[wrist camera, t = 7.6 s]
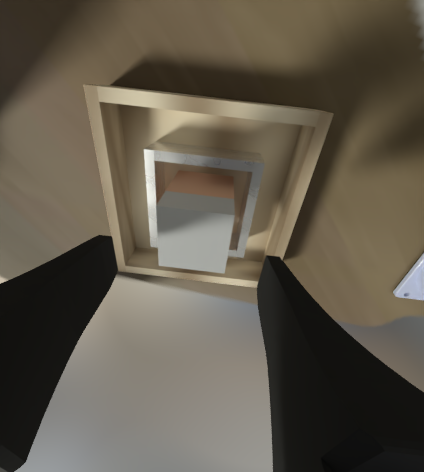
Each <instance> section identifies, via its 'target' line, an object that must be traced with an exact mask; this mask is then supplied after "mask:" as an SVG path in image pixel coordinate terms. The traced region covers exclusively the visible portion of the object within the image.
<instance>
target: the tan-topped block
mask: <svg viewBox="0 0 424 472" xmlns="http://www.w3.org/2000/svg"><path fill="white" fill-rule="evenodd" d="M156 216H157V238H158V260H159V266H166V267H174V268H182V269H191V270H199V271H207V272H215V273H224V274H225V268H226V263H227V257H228V251H229V245H230V240H231V234H232V228H233V223H234V217H235V207H234V182H233V177H232V176H224V175H216V174H207V173H199V172H191V171H182V170H179V171H178V172H177V174H176V175H175V177H174V178H173V180H172V182H171V183H170V185H169V186H168V188H167V189H166V191H165V193H164V194H163V196H162V197H161V199H160V200H159V202H158V204H157V205H156Z"/></svg>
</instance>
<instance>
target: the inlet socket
mask: <svg viewBox="0 0 424 472" xmlns="http://www.w3.org/2000/svg"><path fill="white" fill-rule="evenodd" d="M144 160H145V174H146V188H147V203H148V217H149V231H150V245H151V247H156V248H158V238H157V216H156V205H157V204H158V202H159V200H160V199H161V197H162V196H163V194H164V193H165V162H170V163H179V164H187V165H196V166H204V167H213V168H221V169H230V170H238V171H247V172H248V173H247V178H246V183H245V189H244V194H243V199H242V205H241V210H240V216H239V221H238V226H237V232H236V233H233V232H232V234H231V240H230V245H229V251H228V256H233V257H241V258H244V254H245V249H246V245H247V240H248V236H249V231H250V227H251V223H252V218H253V214H254V209H255V205H256V200H257V196H258V191H259V187H260V183H261V178H262V174H263V169H264V165H265V163H264V160H263V158H262V156H261V154H260V153H254V152H245V151H237V150H228V149H219V148H211V147H202V146H194V145H185V144H177V143H168V142H159V141H155V142H153V143H152V144H151V145H149V146H148V147H146V148H145V149H144Z"/></svg>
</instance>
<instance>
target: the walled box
mask: <svg viewBox="0 0 424 472" xmlns="http://www.w3.org/2000/svg"><path fill="white" fill-rule="evenodd" d="M83 86H84V91H85V97H86V102H87V108H88V113H89V118H90V124H91V129H92V135H93V140H94V145H95V151H96V156H97V161H98V167H99V172H100V178H101V183H102V188H103V194H104V199H105V205H106V210H107V215H108V221H109V226H110V231H111V236H112V239H113V244H114V250H115V255H116V260H117V266H118V271H121V272H129V273H137V274H146V275H154V276H163V277H171V278H180V279H188V280H196V281H205V282H213V283H222V284H230V285H239V286H247V287H255V288H257V285H258V281H259V278H260V275H261V271H262V268H263V264H264V261H265V258H266V255H270V256H278V257H280V258H281V259H282V260H283V257H284V254H285V251H286V248H287V246H288V243H289V240H290V237H291V234H292V231H293V228H294V226H295V223H296V220H297V217H298V214H299V211H300V209H301V206H302V203H303V200H304V197H305V194H306V192H307V189H308V186H309V183H310V180H311V177H312V175H313V172H314V169H315V166H316V163H317V160H318V158H319V155H320V152H321V149H322V146H323V143H324V141H325V138H326V135H327V132H328V129H329V126H330V124H331V121H332V118H333V115H334V113H330V112H325V111H321V110H316V109H309V108H300V107H292V106H283V105H275V104H266V103H257V102H249V101H240V100H231V99H223V98H214V97H206V96H197V95H188V94H180V93H171V92H163V91H154V90H145V89H137V88H128V87H120V86H111V85H88V84H83ZM155 141H159V142H168V143H177V144H185V145H194V146H202V147H211V148H219V149H228V150H237V151H245V152H254V153H260V154H261V156H262V158H263V160H264V163H265V165H264V169H263V174H262V178H261V183H260V187H259V191H258V196H257V200H256V205H255V209H254V214H253V218H252V223H251V227H250V231H249V236H248V240H247V245H246V249H245V254H244V258H241V257H233V256H228V257H227V263H226V268H225V274H224V273H215V272H207V271H199V270H191V269H182V268H174V267H166V266H159V260H158V248H156V247H151V245H150V231H149V217H148V203H147V188H146V174H145V160H144V149H145V148H146V147H148V146H149V145H151V144H152V143H153V142H155ZM179 170H182V171H191V172H199V173H207V174H216V175H224V176H232V177H233V182H234V207H235V217H234V223H233V228H232V232H233V233H236V232H237V226H238V221H239V216H240V210H241V205H242V199H243V194H244V189H245V183H246V178H247V173H248V172H247V171H238V170H230V169H221V168H213V167H204V166H196V165H187V164H179V163H170V162H165V191H166V189H167V188H168V186H169V185H170V183H171V182H172V180H173V178H174V177H175V175H176V174H177V172H178V171H179Z"/></svg>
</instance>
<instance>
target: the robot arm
mask: <svg viewBox="0 0 424 472" xmlns="http://www.w3.org/2000/svg"><path fill="white" fill-rule="evenodd" d="M117 271H118V266H117V260H116V255H115V250H114V244H113V239H112V236H103V235H98V236H96V237H94V238H92V239H90V240H88V241H86V242H84V243H82V244H81V245H79V246H77V247H75V248H73V249H71V250H70V251H68V252H66V253H64V254H62V255H60V256H58V257H56V258H55V259H53V260H51V261H49V262H47V263H45V264H43V265H41V266H39V267H36V268H34V269H32V270H30V271H28V272H26V273H24V274H22V275H20V276H17V277H15V278H13V279H11V280H8V281H6V282H4V283H1V284H0V472H14V471H16V470H17V469H18V468H20V467H21V466H22V465H23V464H24V463H25V462H26V460H27V457H28V454H29V452H30V449H31V446H32V444H33V441H34V439H35V436H36V434H37V431H38V429H39V426H40V424H41V421H42V418H43V416H44V414H45V412H46V409H47V407H48V405H49V402H50V400H51V398H52V395H53V393H54V391H55V388H56V386H57V384H58V382H59V379H60V377H61V375H62V373H63V371H64V369H65V367H66V364H67V362H68V360H69V358H70V356H71V354H72V352H73V350H74V348H75V346H76V344H77V342H78V340H79V338H80V336H81V335H82V333H83V331H84V330H85V328H86V326H87V325H88V323H89V321H90V320H91V318H92V317H93V315H94V314H95V312H96V310H97V309H98V307H99V305H100V304H101V302H102V300H103V299H104V297H105V296H106V294H107V292H108V291H109V289H110V287H111V285H112V283H113V280H114V278H115V276H116V274H117ZM393 293H394V295H395V296H396V297H401V298H409V299H418V300H424V253H423V254H422V256H421V257H420V258H419V260H418V261H417V262H416V263H415V265H414V266H413V267H412V268H411V270H410V271H409V272H408V273H407V275H406V276H405V277H404V279H403V280H402V281H401V282H400V284H399V285H398V286H397V287H396V289H395V290H394V292H393ZM257 299H258V310H259V316H260V321H261V327H262V333H263V339H264V344H265V350H266V357H267V365H268V377H269V389H270V407H271V426H272V450H273V472H424V392H422V391H421V390H419V389H418V388H416V387H415V386H414V385H412V384H411V383H409V382H408V381H407V380H405V379H404V378H403V377H401V376H400V375H398V374H397V373H396V372H394V371H393V370H392V369H391V368H389V367H388V366H387V365H385V364H384V363H383V362H381V361H380V360H379V359H378V358H376V357H375V356H374V355H373V354H371V353H370V352H369V351H368V350H367V349H366V348H364V347H363V346H362V345H361V344H360V343H358V342H357V341H356V340H355V339H354V338H353V337H352V336H350V335H349V334H348V333H347V332H346V331H345V330H344V329H343V328H342V327H341V326H340V325H339V324H338V323H336V322H335V321H334V320H333V319H332V318H331V317H330V316H329V315H328V314H327V313H326V312H325V311H324V310H323V309H322V307H321V306H320V305H319V304H318V303H317V302H316V301H315V300H314V299H313V298H312V297H311V295H310V294H309V293H308V292H307V291H306V290H305V288H304V287H303V286H302V285H301V284H300V282H299V281H298V280H297V279H296V277H295V276H294V275H293V274H292V272H291V271H290V270H289V268H288V267H287V266H286V264H285V263H284V262H283V261H282V259H281V258H280V257H278V256H270V255H266V258H265V261H264V264H263V268H262V271H261V275H260V278H259V281H258V285H257Z"/></svg>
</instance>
